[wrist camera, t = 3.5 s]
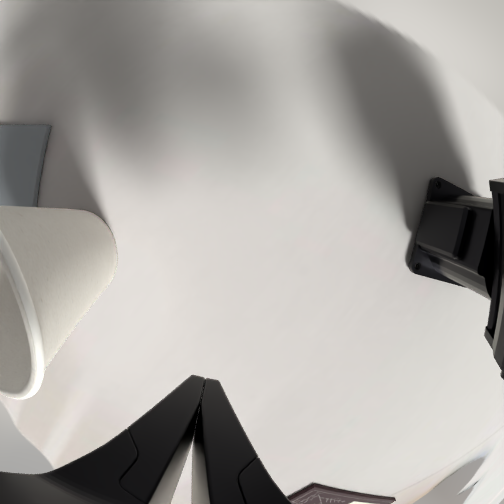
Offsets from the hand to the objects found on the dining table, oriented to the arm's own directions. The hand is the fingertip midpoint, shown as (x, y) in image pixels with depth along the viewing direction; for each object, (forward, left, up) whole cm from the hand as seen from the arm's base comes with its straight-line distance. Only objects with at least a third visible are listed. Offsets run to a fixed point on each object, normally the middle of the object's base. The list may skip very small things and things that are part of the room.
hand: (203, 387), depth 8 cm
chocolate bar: (-19, +28, -10) cm, 35 cm away
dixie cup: (+10, 0, -9) cm, 13 cm away
